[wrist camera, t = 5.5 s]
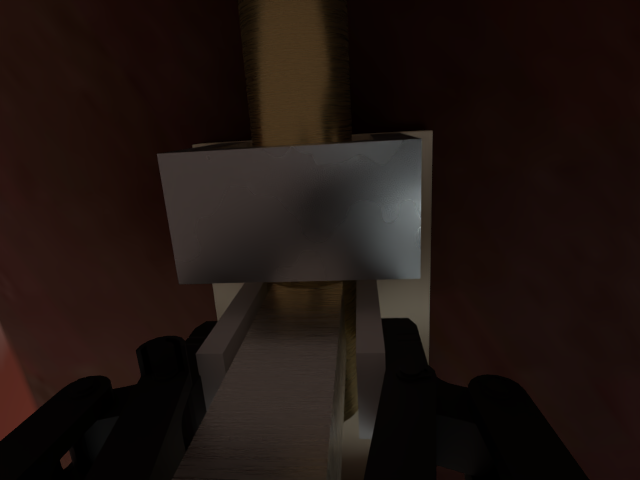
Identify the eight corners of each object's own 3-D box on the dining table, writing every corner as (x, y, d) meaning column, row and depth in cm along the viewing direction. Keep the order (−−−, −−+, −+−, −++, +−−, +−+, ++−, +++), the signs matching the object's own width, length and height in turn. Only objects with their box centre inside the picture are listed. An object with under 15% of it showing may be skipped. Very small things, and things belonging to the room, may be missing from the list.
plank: (202, 143, 18) (192, 144, 17) (427, 129, 17) (432, 130, 16) (250, 489, 24) (244, 508, 23) (422, 494, 23) (426, 514, 22)
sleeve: (221, 143, 17) (156, 153, 11) (399, 132, 16) (421, 138, 11) (233, 234, 18) (178, 284, 13) (400, 228, 17) (420, 278, 12)
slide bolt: (245, -57, 15) (-175, -726, 3) (345, -68, 14) (294, -876, 3) (286, 373, 20) (186, 736, 8) (361, 373, 19) (367, 753, 8)
